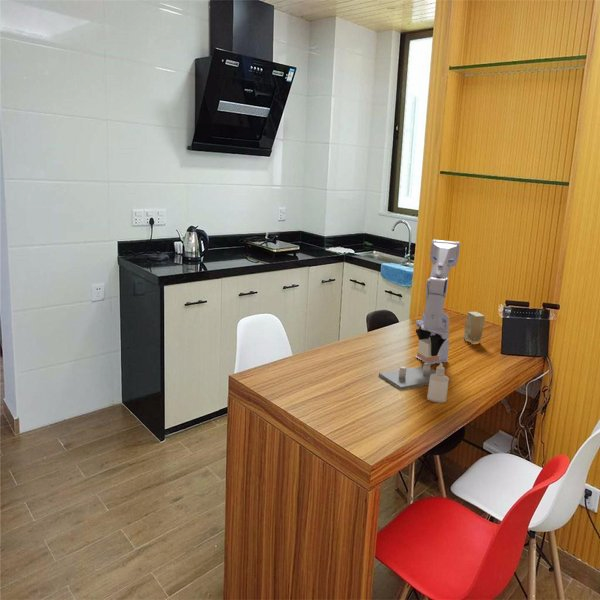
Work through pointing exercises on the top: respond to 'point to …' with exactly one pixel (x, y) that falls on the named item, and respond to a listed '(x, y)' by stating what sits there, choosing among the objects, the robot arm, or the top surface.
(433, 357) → the sleeve
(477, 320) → the skincare box
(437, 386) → the eye dropper bottle
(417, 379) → the pin board
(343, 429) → the top surface
